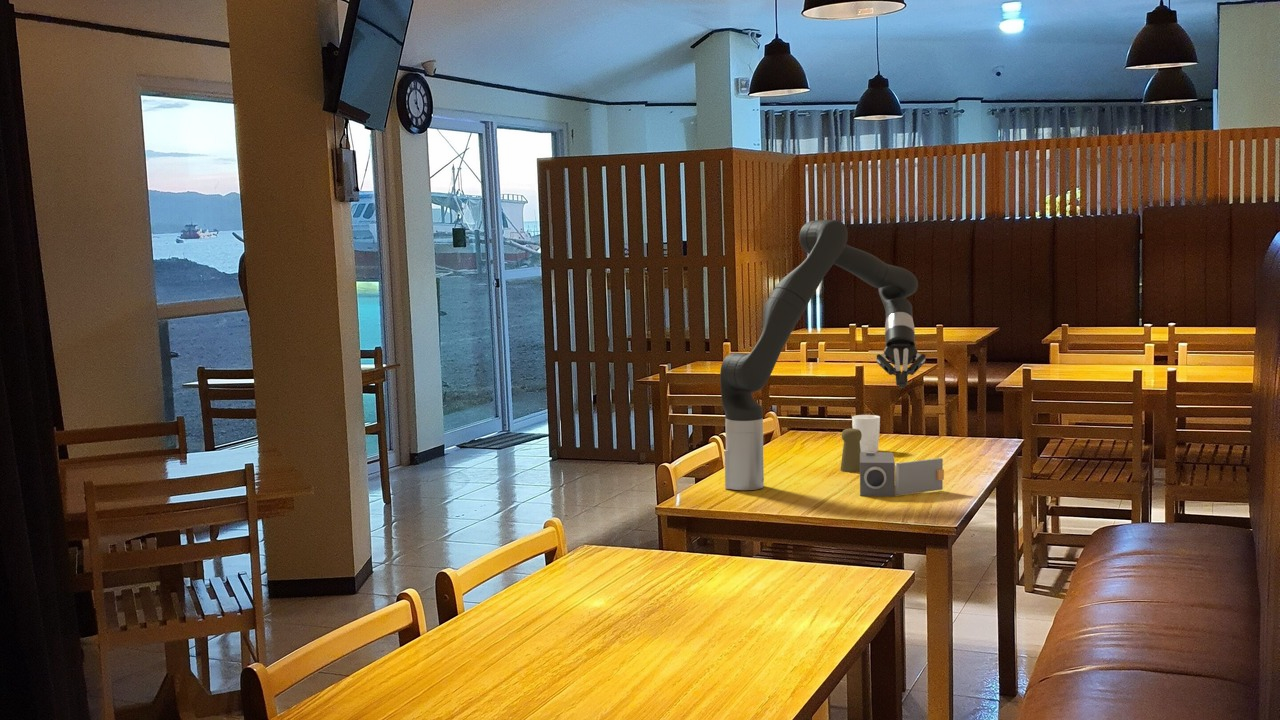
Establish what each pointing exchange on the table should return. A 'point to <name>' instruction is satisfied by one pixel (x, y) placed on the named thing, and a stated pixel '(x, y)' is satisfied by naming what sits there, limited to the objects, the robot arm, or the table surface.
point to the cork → (851, 450)
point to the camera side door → (919, 476)
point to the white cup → (867, 431)
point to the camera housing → (877, 474)
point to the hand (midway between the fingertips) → (902, 385)
